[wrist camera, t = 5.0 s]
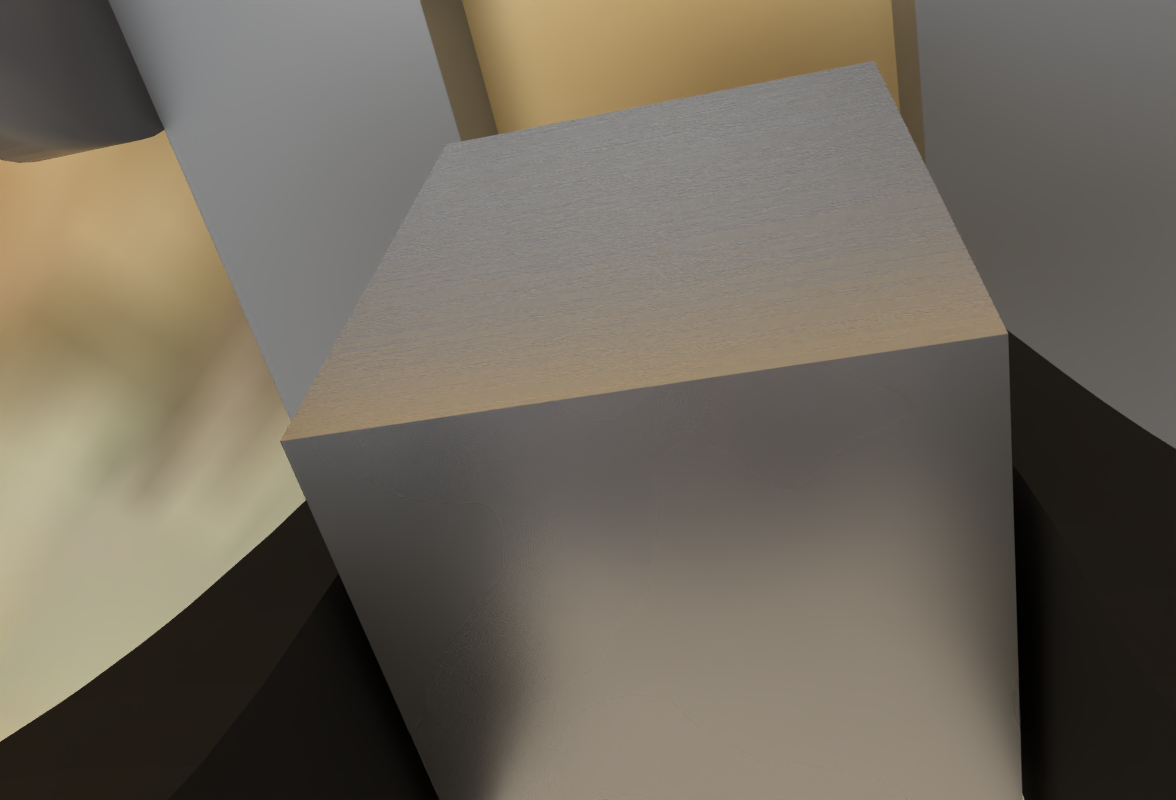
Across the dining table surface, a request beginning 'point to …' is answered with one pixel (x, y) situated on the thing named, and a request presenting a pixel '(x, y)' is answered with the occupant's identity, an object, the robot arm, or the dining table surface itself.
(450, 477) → the beige block
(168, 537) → the dining table surface
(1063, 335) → the chassis
